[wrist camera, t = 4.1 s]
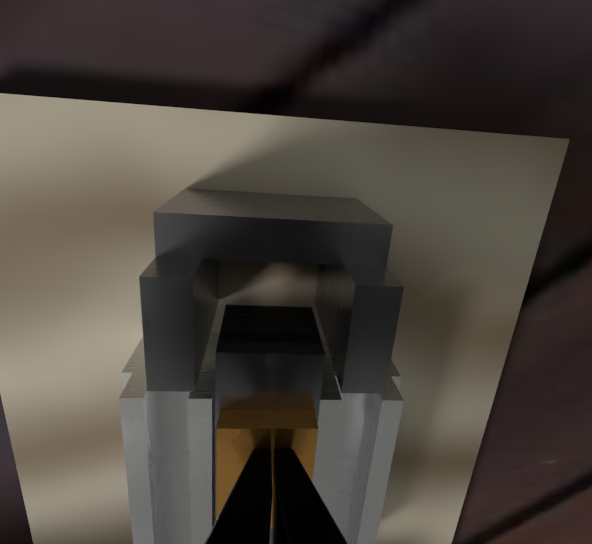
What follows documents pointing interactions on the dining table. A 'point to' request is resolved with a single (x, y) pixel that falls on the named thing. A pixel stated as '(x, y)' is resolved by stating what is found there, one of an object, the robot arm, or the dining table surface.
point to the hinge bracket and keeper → (269, 248)
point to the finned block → (201, 453)
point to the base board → (250, 281)
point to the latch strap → (265, 388)
